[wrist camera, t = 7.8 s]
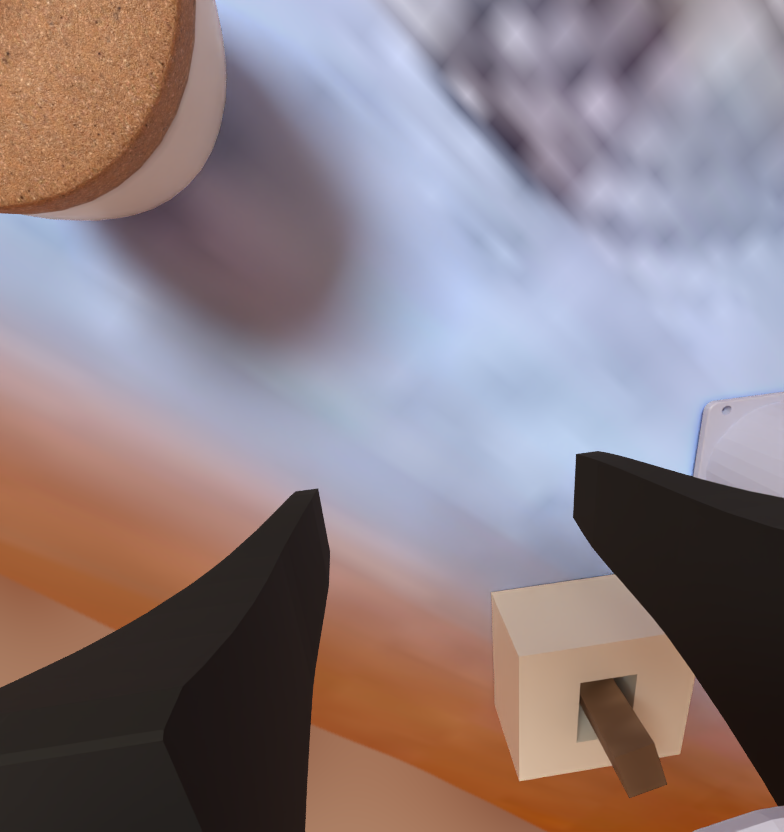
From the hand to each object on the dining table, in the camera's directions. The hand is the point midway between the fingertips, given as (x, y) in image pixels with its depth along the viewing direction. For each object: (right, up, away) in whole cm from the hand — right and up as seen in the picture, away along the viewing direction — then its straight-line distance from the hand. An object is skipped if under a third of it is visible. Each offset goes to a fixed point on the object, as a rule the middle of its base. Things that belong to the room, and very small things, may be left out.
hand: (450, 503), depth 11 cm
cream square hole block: (+10, -13, +15) cm, 22 cm away
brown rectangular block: (+10, -13, +15) cm, 22 cm away
